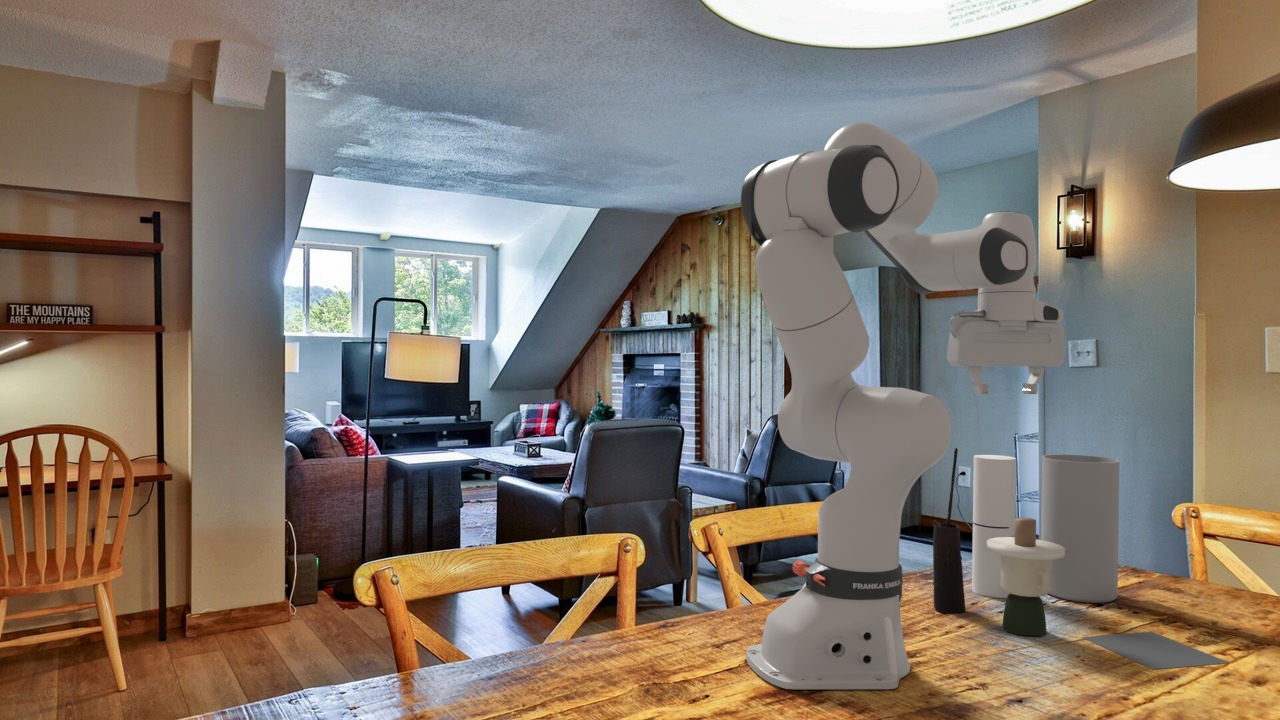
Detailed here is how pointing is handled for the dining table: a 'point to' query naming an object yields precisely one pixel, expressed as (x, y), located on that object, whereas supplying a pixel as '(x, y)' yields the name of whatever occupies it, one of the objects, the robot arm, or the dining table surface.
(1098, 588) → the cylinder vase
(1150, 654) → the mat
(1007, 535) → the cylindrical container
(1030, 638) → the dining table surface
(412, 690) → the dining table surface
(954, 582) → the butter churn
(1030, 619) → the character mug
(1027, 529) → the lid
